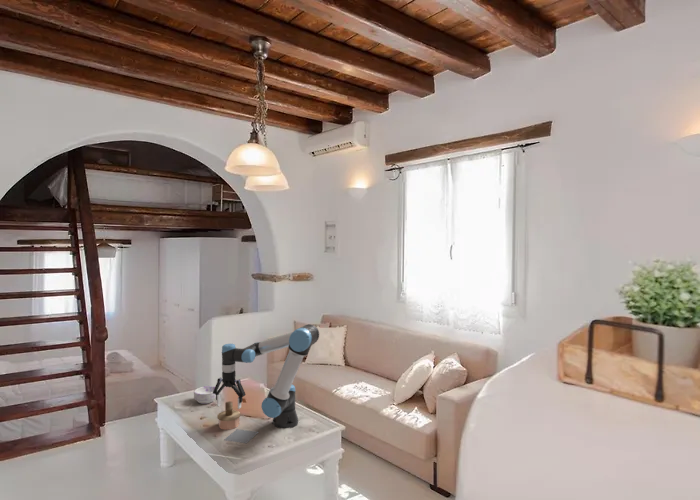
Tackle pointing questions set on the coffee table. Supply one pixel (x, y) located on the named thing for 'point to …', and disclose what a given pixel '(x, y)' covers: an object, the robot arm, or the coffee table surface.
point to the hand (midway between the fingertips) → (229, 406)
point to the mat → (241, 436)
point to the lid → (228, 413)
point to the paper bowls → (204, 394)
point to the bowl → (229, 424)
